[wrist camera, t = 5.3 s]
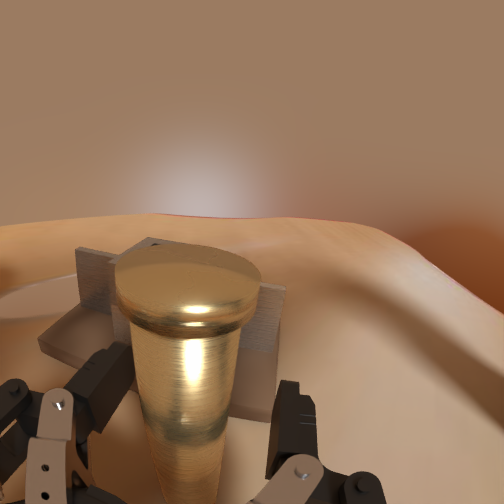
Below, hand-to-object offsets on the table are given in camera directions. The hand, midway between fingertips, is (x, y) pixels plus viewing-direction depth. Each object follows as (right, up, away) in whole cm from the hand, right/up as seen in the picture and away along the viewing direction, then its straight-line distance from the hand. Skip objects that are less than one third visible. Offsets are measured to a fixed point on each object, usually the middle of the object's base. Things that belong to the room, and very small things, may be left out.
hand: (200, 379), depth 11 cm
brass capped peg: (-1, -8, 0) cm, 8 cm away
